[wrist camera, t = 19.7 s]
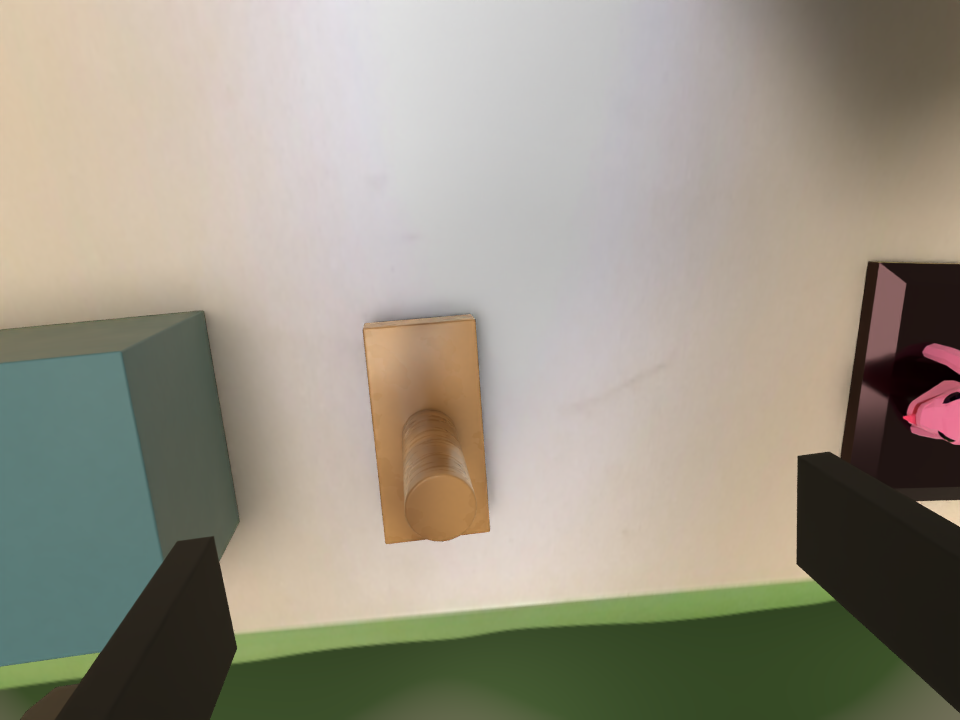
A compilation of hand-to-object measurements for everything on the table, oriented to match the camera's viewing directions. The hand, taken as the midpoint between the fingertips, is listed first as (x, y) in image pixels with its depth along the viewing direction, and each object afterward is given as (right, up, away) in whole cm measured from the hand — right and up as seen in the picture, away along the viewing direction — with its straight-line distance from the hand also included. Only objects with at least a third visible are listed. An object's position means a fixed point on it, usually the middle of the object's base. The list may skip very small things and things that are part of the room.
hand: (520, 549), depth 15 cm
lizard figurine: (+30, +3, +27) cm, 40 cm away
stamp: (-4, +1, +23) cm, 23 cm away
